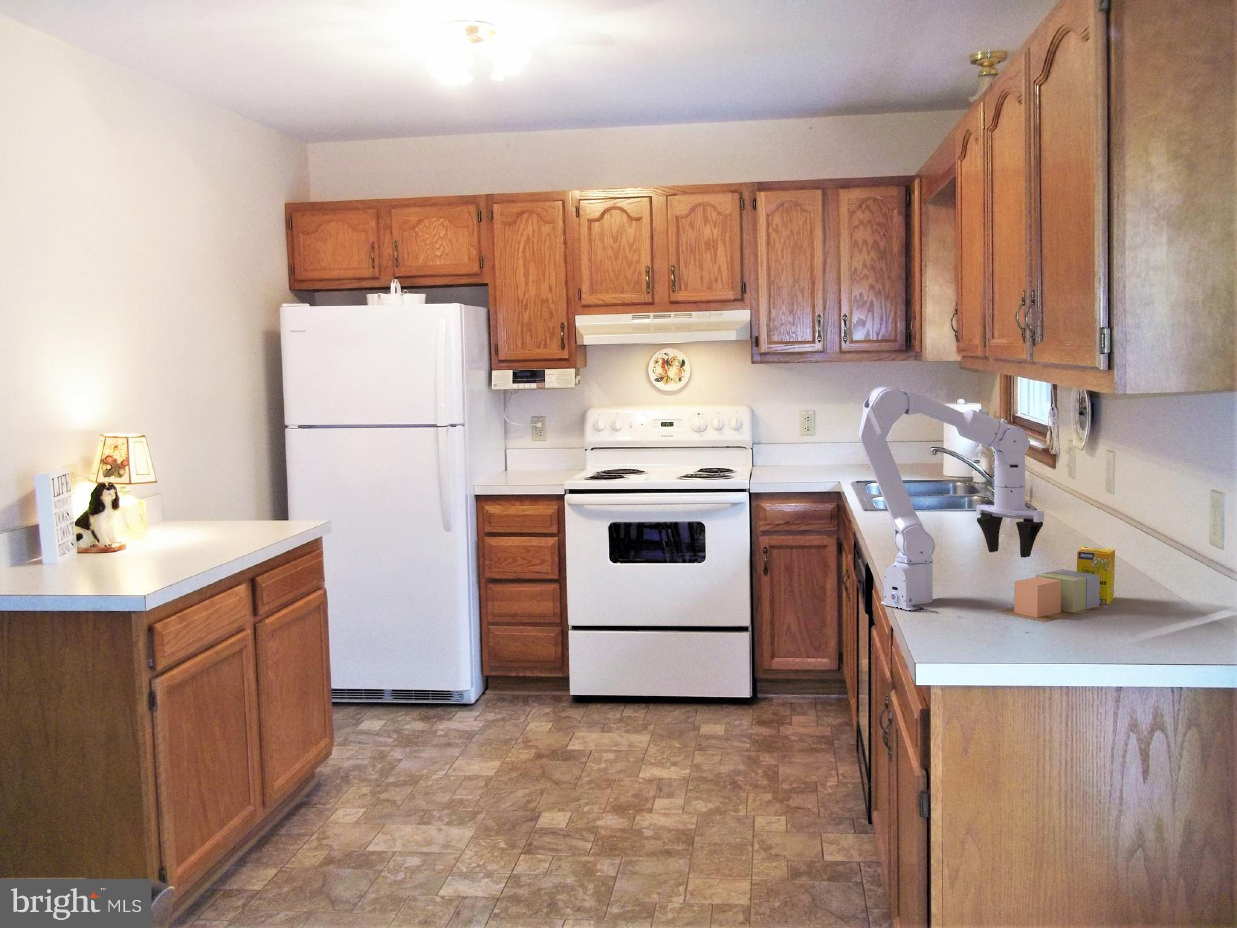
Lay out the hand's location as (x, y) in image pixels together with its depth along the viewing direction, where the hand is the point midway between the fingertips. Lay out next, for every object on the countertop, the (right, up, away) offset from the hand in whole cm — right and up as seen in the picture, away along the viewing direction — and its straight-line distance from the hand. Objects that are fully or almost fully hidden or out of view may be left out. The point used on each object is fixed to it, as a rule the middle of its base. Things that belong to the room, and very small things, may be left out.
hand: (1009, 554), depth 218 cm
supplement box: (+16, -10, -2) cm, 19 cm away
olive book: (+7, -10, -8) cm, 14 cm away
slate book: (+11, -9, -6) cm, 15 cm away
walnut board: (+5, -11, -9) cm, 15 cm away
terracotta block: (+1, -10, -12) cm, 15 cm away
